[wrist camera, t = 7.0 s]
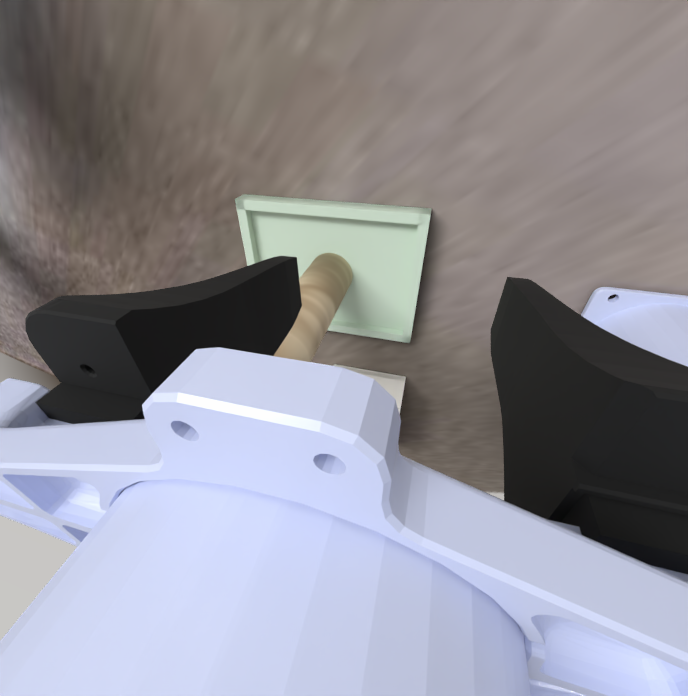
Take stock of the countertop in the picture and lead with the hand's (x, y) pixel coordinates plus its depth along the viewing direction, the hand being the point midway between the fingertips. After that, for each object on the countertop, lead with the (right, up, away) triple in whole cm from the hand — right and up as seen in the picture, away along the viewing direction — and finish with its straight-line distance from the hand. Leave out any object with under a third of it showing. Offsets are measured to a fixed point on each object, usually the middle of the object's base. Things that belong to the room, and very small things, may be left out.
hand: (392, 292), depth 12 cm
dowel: (-3, +3, +11) cm, 12 cm away
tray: (-2, +4, +12) cm, 12 cm away
